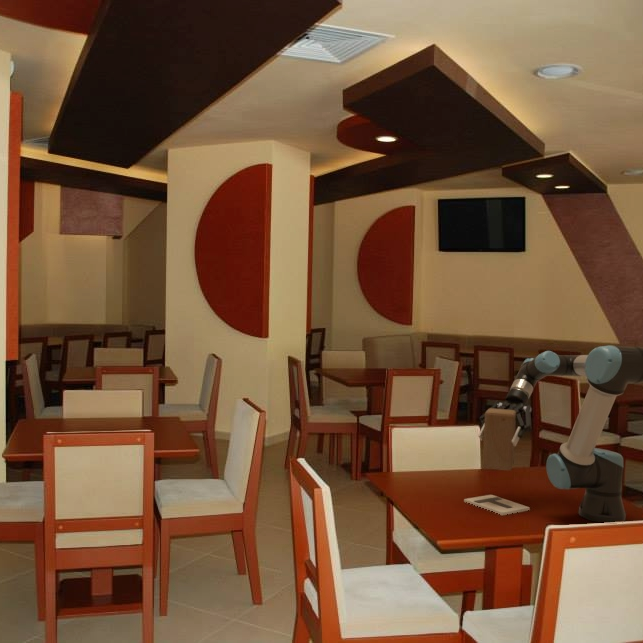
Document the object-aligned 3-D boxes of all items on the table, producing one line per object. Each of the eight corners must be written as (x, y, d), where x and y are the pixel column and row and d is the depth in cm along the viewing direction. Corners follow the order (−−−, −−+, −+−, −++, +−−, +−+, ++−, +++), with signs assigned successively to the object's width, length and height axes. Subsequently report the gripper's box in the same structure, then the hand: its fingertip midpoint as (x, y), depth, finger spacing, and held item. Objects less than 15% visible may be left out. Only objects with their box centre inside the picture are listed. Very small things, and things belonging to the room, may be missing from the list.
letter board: (529, 510, 272) (529, 506, 272) (501, 515, 264) (502, 512, 264) (491, 497, 286) (491, 494, 286) (463, 501, 279) (464, 498, 278)
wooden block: (511, 471, 269) (514, 413, 268) (482, 468, 272) (484, 411, 271) (513, 465, 278) (516, 409, 277) (485, 462, 281) (488, 407, 281)
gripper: (553, 405, 278) (532, 453, 267) (492, 397, 294) (469, 441, 283) (547, 391, 274) (525, 439, 263) (486, 384, 290) (462, 429, 279)
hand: (496, 440), depth 273 cm, fingers closed on wooden block, 12 cm apart
